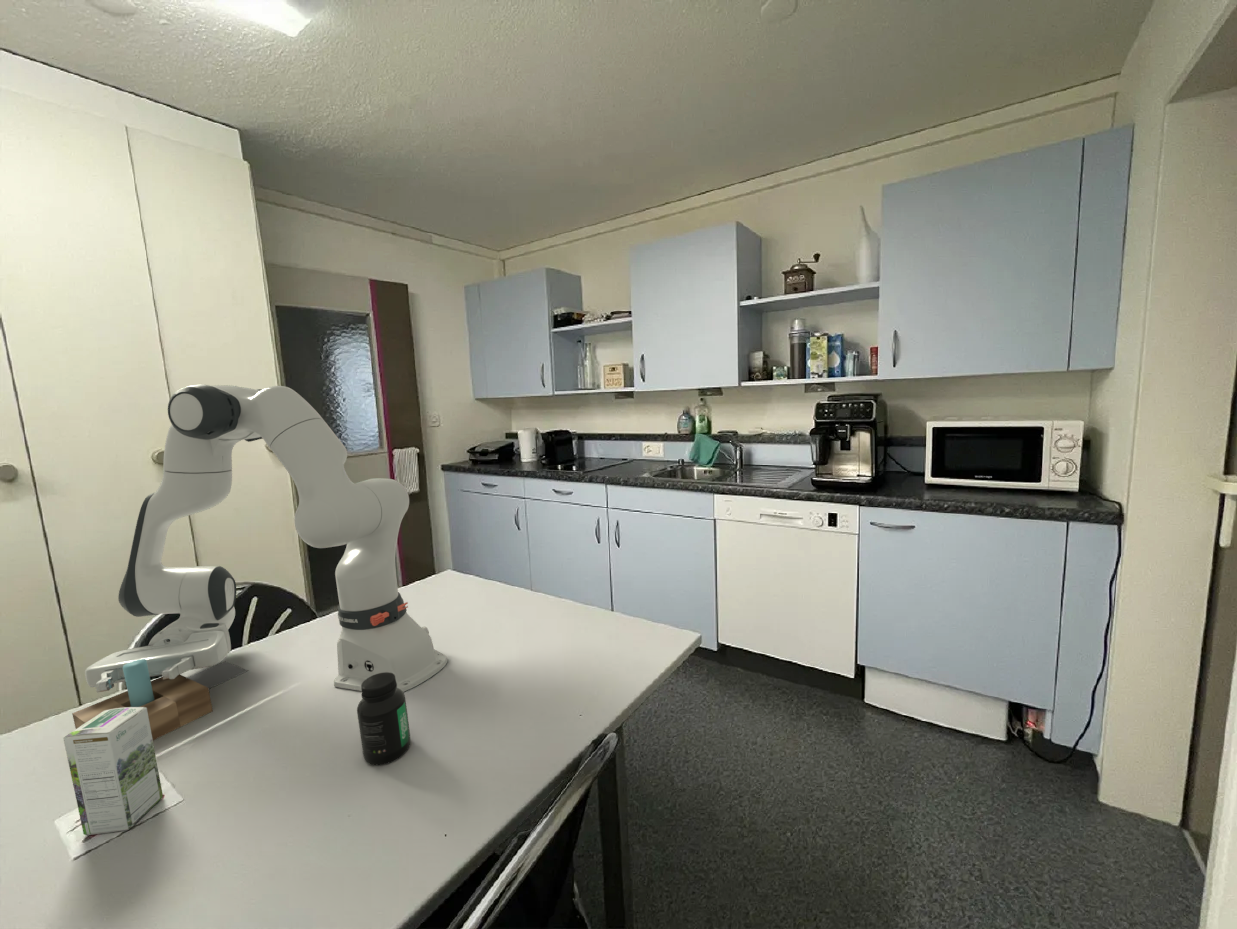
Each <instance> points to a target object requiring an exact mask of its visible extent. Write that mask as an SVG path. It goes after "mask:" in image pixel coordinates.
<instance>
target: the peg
mask: <svg viewBox="0 0 1237 929" xmlns="http://www.w3.org/2000/svg"><path fill="white" fill-rule="evenodd" d="M123 672H124V676H125V685H126V689H127V690H126V691H128V695H129V700H130V704H131V707H140V706H143V705H145V704H147V703H150V702H152V701H154V695H153V690H152V685H151V681H152V680H151V677H150V676H149V671H148V666H147V661H146V659H140V660H135V661H132V662H130V663H127V664H125V665H124V666H123Z"/></svg>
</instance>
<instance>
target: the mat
mask: <svg viewBox="0 0 1237 929" xmlns="http://www.w3.org/2000/svg"><path fill="white" fill-rule="evenodd" d="M248 671H250V670H248V669H246V668H244V667H241V666H238V665H236V664H233V663H231V662H229V661H226V660H223V661H221V662H220V663H218V664H216V665H214V666H210V667H207V668H204V669H203V670H201V671H198V672H196V673H193V674H192V675H189V676H186V677H187V678H189V679H191V680H193V681H195V682H197V683H199V684H201V685H203V686H205V687H208V689H212V688H215V687H216V686H218V685H221V684H222V683H225V682H227V681H229V680H231V679H234V678H236V677H238V676H240V675H243V674H244V673H247V672H248Z"/></svg>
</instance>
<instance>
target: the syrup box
mask: <svg viewBox="0 0 1237 929" xmlns="http://www.w3.org/2000/svg"><path fill="white" fill-rule="evenodd" d="M63 742H64V743H63V744H64V747H65V752H66V758H67V763H68V767H69V771H70V777H71V782H72V786H73V790H74V795H75V800H76V804H77V808H78V814H79V818H80V824H81V829H82V834H83V835H85V836H91V835H98V834H101V835H102V834H108V833H113V832H114V833H115V832H121V831H129V830H130V829H131V828H132V827H133V826H134V825H136V824H137V823H138V822H139V820H141V819H142V818H143V816H145V815H146V814H147V813H148V812H149V811H150V810H151V809H152V808H153V807H154V806H156V804H157V803H158V802H160V801H161V800H162V798H163V794H164V793H163V789H162V783H161V779H160V773H159V767H158V761H157V756H156V752H155V751H156V750H155V747H154V746H155V745H154V740H153V739H152V734H151V728H150V723H149V718H148V712H147V708H145V707H124V708H115V709H110V710H105V711H103V712H101V713H100V714H98V715H97V716H95V717H94V718H92V719H91V720H89V721H88V722H86V723H85V724H83V725H82V726H80V727H79V728H77V729H76V728H75V729H74V730H73V731H71V732H70V733H68V734H67V735H65V736H64V737H63Z"/></svg>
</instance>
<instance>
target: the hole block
mask: <svg viewBox="0 0 1237 929" xmlns="http://www.w3.org/2000/svg"><path fill="white" fill-rule="evenodd" d="M187 677H188V676H185V675H182V674H180V675H178V676H177V677H176V678H174V679H170V680H163V676H161V677H160V676H159V677H158V678H155V679H153V680H150V681H151V685H152V690H153V695H154V701H152V702H150V703H147V704H145V705H143V706H140V707H145V708H147V712H148V718H149V723H150V728H151V734H152V739H153V741H155V740H157V739H159V738H161V737H163V736H165V735H167V734H169V733H171V732H173V731H176V730H177V729H180V728H182V727H183V726H186V725H188V724H189V723H192V722H194V721H195V720H197V719H199V718H201V717H204V716H206V715H208V714H210V713H213V710H214V709H213V706H212V705H213V704H212V701H211V695H210V690H209V689H208V687H205V686H203V685H201V684H199V683H197V682H195V681H193V680H191V679H189V678H187ZM124 707H131V704H130V700H129V695H128V690H125V691H123V692H122V693H119V694H116V695H114V696H112V697H109V698H107V699H103V700H101V701H99V702H96V703H95V704H92V705H89V706H87V707H83V708H82V709H80V710H78V711H75V712H72V718H73V724H74V727H75V730H76V729H77V728H79V727H80V726H82V725H83V724H85V723H86V722H88V721H89V720H91V719H92V718H94V717H95V716H97V715H98V714H100V713H101V712H103V711H105V710H110V709H115V708H124Z"/></svg>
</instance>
